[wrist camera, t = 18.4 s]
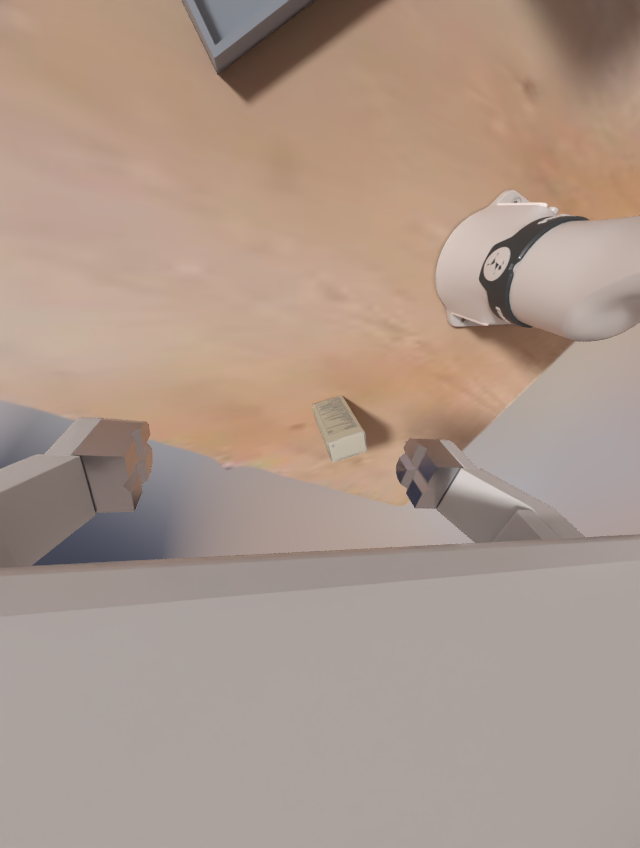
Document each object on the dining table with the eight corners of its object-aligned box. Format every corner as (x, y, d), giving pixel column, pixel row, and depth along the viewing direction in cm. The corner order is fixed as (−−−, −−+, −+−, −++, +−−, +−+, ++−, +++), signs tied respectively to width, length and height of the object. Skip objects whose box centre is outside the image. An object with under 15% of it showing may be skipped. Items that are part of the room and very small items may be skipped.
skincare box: (316, 422, 57) (330, 463, 47) (311, 403, 54) (324, 443, 44) (347, 413, 57) (368, 452, 47) (344, 394, 54) (365, 431, 44)
